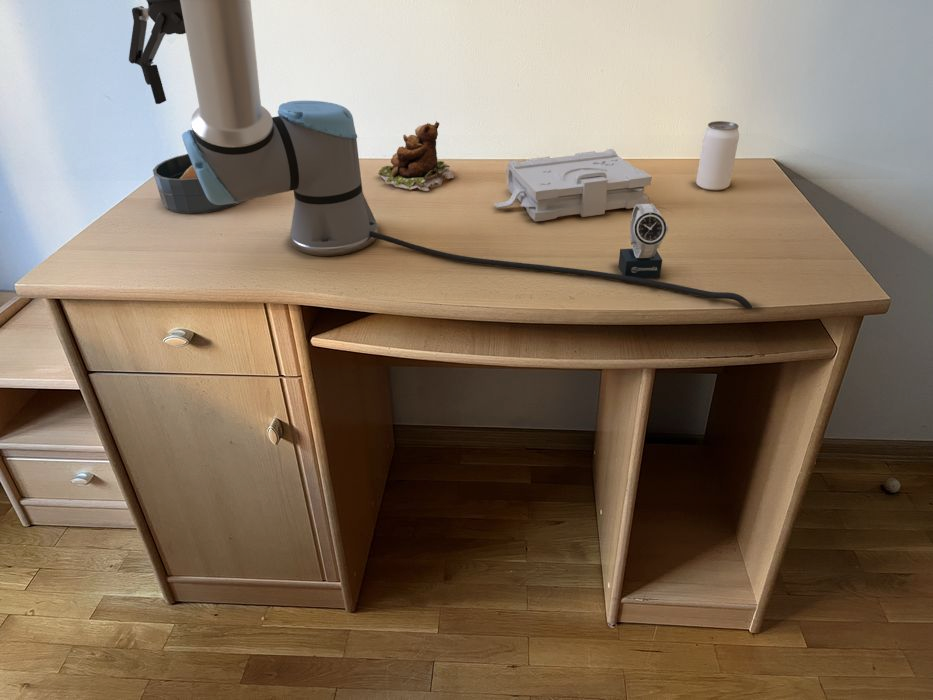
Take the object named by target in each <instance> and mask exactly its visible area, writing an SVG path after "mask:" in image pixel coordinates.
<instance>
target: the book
mask: <svg viewBox="0 0 933 700" xmlns="http://www.w3.org/2000/svg"><path fill="white" fill-rule="evenodd" d="M506 183H507V188H508V191H509V193H510V194H511V196H510V198H509V199H507V200H506V201H501V202H494V203H493V205H494V206H495V208H496V209H504V208H505V209H506V208H509V207H511V206H513V205H514V204H515V203H516V201H517V200H518V201H519V202H520V203H521V204H520V207H524V208H525V209H526V213H527V214H528V216H529V217H530V218H531V219H532V220H533V221H534V222H545V221H549V220H555V219H557V218H558V217H564V216H572V215H579V216H581V218H585V217H586V218H587V217H593V216H600V215H605V213H606V211H610V210H616V209H624V208H625V209H627V210H628V209H634V207H635V205H637V204H649V202H650V201H649V199H650V197H649V196H648V195H646V193H644V192H645V187H648V186H651V184H652V176H651V175H650V174H649V173H648V172H646V171H644V170H643V169H641V168H636V167H635V166H634V165H632V164H631V163H629V162H627V161H626V160H625V159H624V158H622V157H621V156H619V155H618V153H617V151H616V150H615V149H614V148H607V149H606V150H605V151H598V152H596V151H595V150H594V151H593V150H592V151H584V152H576V153H575V154H573V155H565V156H556V157H550V156H543V157H535V158H528V159H527V160H522V161H521V160H520V161H517V160H516V159H513V160H510V161H509V162H508V164H507V167H506Z"/></svg>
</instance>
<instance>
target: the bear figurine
mask: <svg viewBox="0 0 933 700" xmlns="http://www.w3.org/2000/svg"><path fill="white" fill-rule="evenodd" d="M439 126H440V122H438V121H437V120H436V121H435V123H434V124H432V123H429V122H427V123H425V124H422V125H418V126H417V127H416V128H415V129H414V134H410V135H408V136H407V134H403V142H404V144H405V146H398V148H397V149H396V153H394V154H393V155H392V157H391V159H390V163H391V164H392V166H391V165H385V166H382V167H381V168H380V170H378V173H377V174H378V175H379V177H380V178H381V179H383V180H384V181H385V184H386V185H389V186H390V187H391V186H393V187H396V188H400V189H405V190H409V191H412V190H414V189H416V188H418V189H419V190H421V191H423V192H429V191H430V189H433V188H436V187H439V186H442V183H443V181H444V180H445V179H446V180H448V179H455V174H454V171H452V170H451V169H450V167H451V166H450V165H449V164H446V163H445V161H444V160H443V161H442V160H438V152H437V139H438V136H439V132H438V129H439ZM429 187H430V189H429Z"/></svg>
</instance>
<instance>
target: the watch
mask: <svg viewBox="0 0 933 700" xmlns="http://www.w3.org/2000/svg"><path fill="white" fill-rule="evenodd" d="M669 228H670V227H669V225H667V221H666V220H665V219H664V217H663V216H662V214H661V212H660V210H659V209H657V208H656V206H655V205H654V204H653V203H648V204H637V205H635V207H634V208H632V213H631V220H630V230H629V231H630V235H629V239H630V245H631V248H620V249H619V255H618V256H619V257H618V258H619V259H618V264H617V265H618V266H617V267H618V269H619V271H620V274H621V275H625V276H632V277H637V278H643V279H660V278H661V273H662V272H661V271H662V265H663V258H662V257H661V255H660V254H659V252H658V249H660V248H661V245H662V242H663V240H664V238H665V237H666V234H667V232H669V230H670V229H669Z"/></svg>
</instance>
